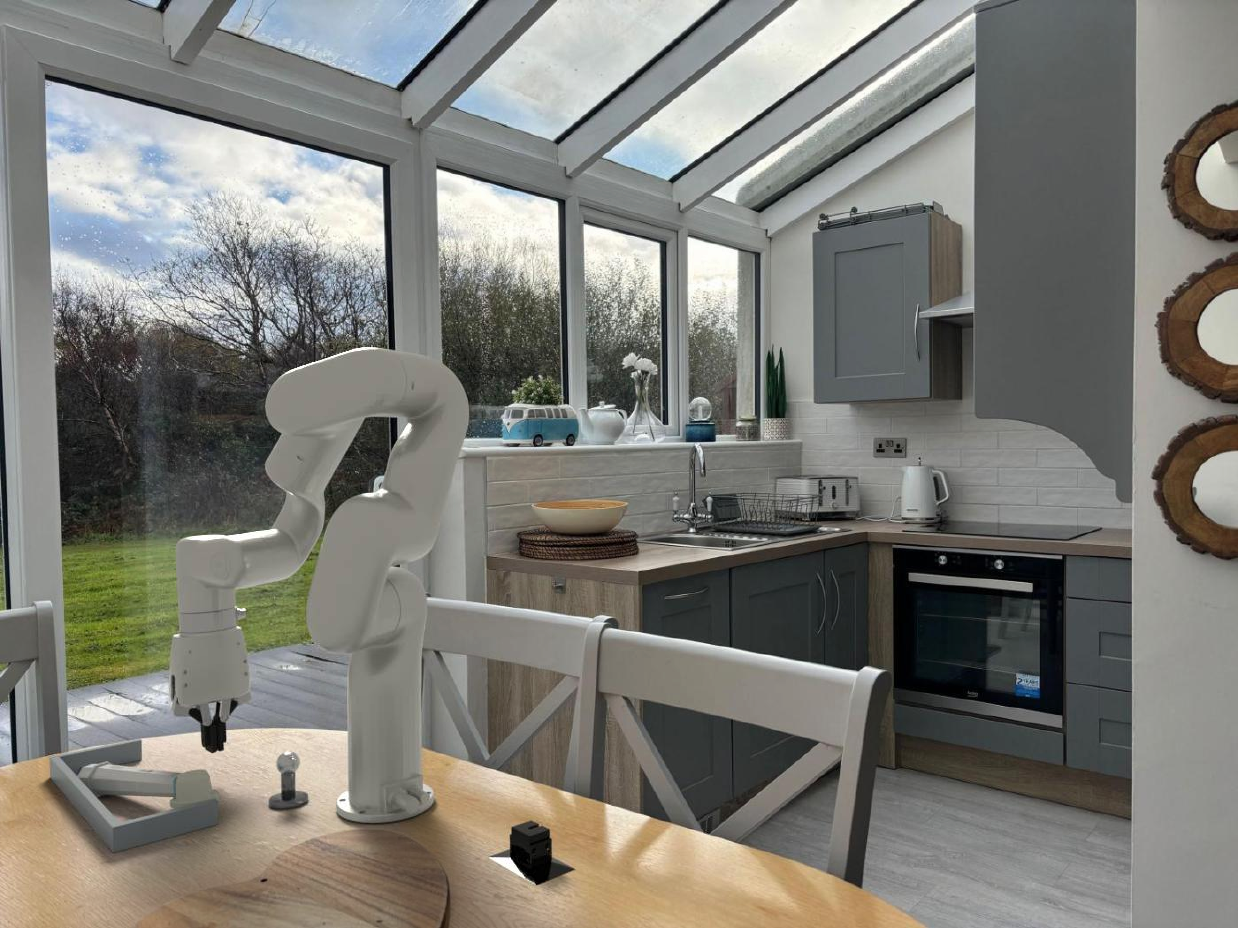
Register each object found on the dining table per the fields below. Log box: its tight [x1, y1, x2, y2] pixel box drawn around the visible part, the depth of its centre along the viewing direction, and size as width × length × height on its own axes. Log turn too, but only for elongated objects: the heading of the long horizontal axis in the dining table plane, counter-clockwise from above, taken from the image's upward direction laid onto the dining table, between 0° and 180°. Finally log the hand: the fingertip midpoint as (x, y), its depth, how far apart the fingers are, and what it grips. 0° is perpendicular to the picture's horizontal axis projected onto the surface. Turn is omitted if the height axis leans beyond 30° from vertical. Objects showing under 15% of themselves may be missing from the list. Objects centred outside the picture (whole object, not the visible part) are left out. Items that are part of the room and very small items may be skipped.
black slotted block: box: [488, 820, 576, 886], centre depth 106 cm, size 12×7×5 cm, turn 42°
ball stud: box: [268, 750, 309, 810], centre depth 124 cm, size 5×5×7 cm
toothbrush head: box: [75, 761, 221, 809], centre depth 123 cm, size 5×7×25 cm
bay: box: [49, 738, 219, 854], centre depth 125 cm, size 34×12×3 cm, turn 42°
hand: (214, 749), depth 132 cm, fingers closed
